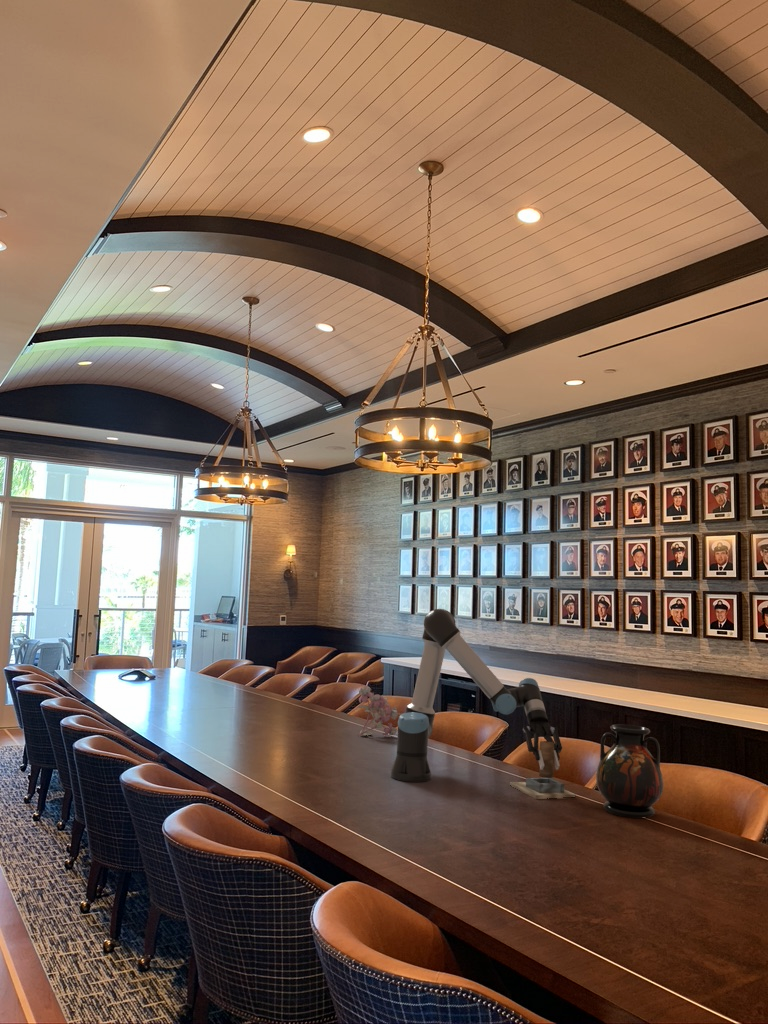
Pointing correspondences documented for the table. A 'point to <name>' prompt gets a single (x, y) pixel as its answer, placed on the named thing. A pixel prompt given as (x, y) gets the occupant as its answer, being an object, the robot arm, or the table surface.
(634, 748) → the amphora vase
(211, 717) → the table surface
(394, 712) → the flower
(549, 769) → the walnut peg
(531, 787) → the maple board
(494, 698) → the robot arm
